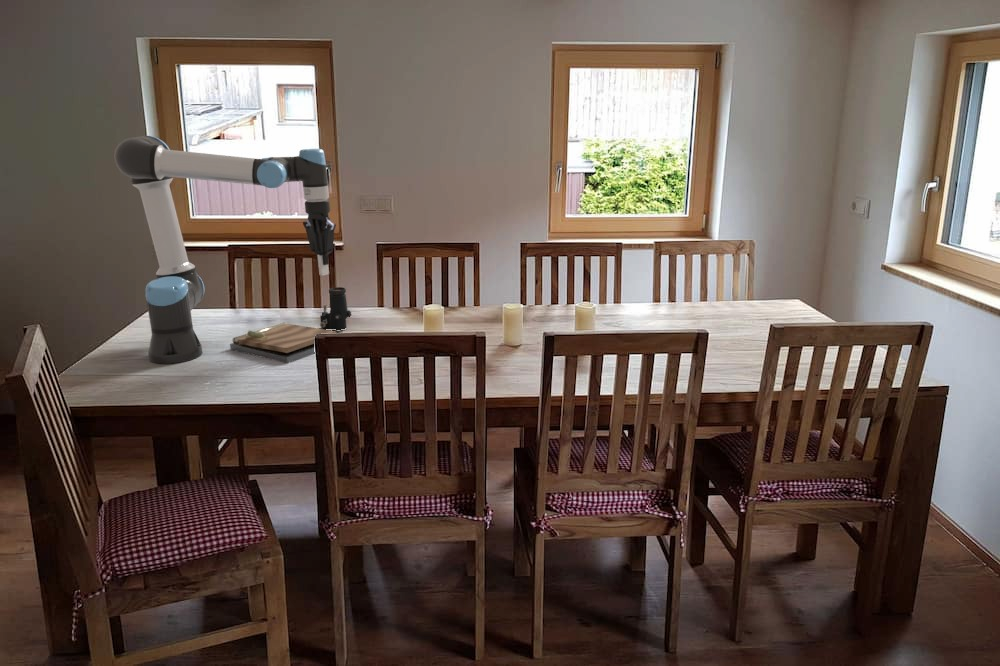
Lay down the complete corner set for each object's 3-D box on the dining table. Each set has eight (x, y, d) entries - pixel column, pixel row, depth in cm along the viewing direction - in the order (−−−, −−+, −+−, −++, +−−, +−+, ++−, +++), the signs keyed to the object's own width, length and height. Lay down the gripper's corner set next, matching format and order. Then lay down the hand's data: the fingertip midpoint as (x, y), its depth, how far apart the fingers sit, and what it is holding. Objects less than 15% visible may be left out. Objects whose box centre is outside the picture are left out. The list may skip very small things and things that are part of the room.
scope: (320, 286, 266) (350, 285, 267) (324, 326, 270) (353, 325, 271) (316, 292, 259) (347, 291, 259) (320, 333, 263) (350, 332, 263)
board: (238, 343, 246) (237, 332, 245) (288, 328, 262) (287, 317, 261) (287, 353, 234) (285, 340, 233) (336, 335, 250) (335, 324, 249)
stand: (230, 349, 248) (229, 338, 247) (285, 331, 265) (284, 321, 264) (287, 363, 234) (286, 351, 232) (341, 343, 251) (340, 332, 250)
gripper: (293, 200, 247) (301, 274, 254) (321, 202, 240) (329, 279, 247) (312, 197, 253) (319, 270, 260) (340, 199, 246) (347, 274, 252)
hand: (324, 274), depth 253 cm, fingers closed
